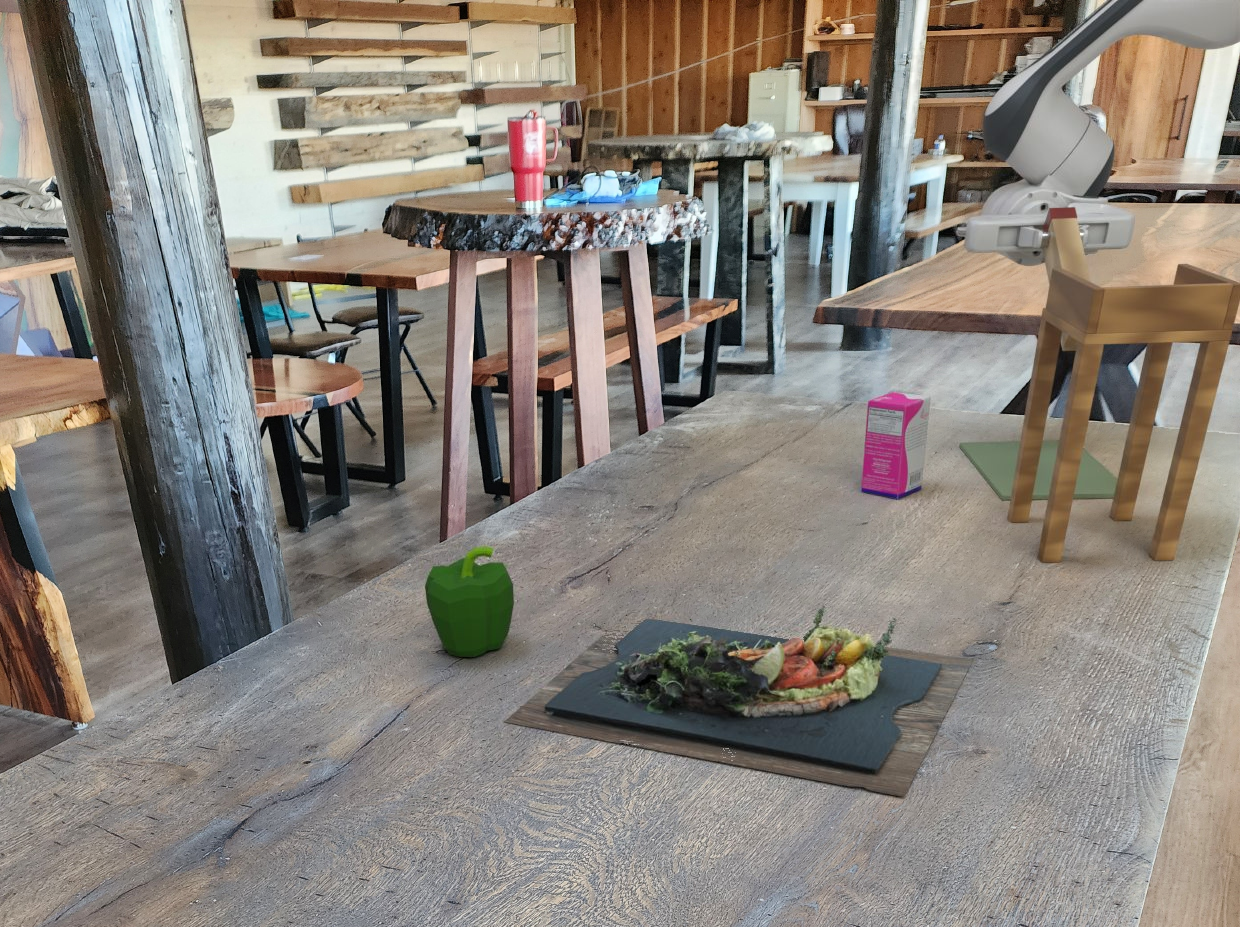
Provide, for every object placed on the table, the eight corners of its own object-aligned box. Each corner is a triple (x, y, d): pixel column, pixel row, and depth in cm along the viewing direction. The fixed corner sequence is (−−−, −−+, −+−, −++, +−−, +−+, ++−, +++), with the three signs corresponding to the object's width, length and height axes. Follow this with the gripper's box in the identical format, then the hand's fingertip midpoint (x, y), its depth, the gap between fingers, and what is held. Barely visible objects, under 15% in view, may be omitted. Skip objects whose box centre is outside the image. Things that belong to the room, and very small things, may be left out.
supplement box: (883, 481, 156) (893, 390, 150) (922, 489, 152) (934, 395, 146) (858, 491, 153) (867, 398, 146) (897, 499, 149) (908, 404, 143)
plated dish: (974, 656, 109) (986, 580, 105) (910, 804, 88) (921, 717, 84) (627, 613, 122) (624, 544, 118) (501, 733, 102) (493, 654, 97)
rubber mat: (1073, 443, 168) (1074, 439, 167) (1133, 497, 146) (1134, 492, 146) (959, 446, 169) (959, 442, 169) (1001, 500, 148) (1002, 495, 147)
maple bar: (1064, 237, 147) (1075, 206, 143) (1088, 350, 139) (1100, 320, 135) (1039, 238, 147) (1049, 207, 144) (1061, 351, 139) (1072, 321, 135)
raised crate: (1126, 515, 141) (1184, 261, 126) (1173, 560, 128) (1244, 283, 112) (1007, 517, 142) (1049, 266, 127) (1041, 562, 129) (1094, 288, 113)
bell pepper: (415, 659, 113) (403, 558, 108) (453, 628, 120) (444, 530, 114) (494, 670, 111) (486, 566, 105) (529, 637, 117) (523, 537, 111)
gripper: (956, 201, 154) (979, 212, 142) (1117, 196, 152) (1154, 206, 141) (949, 256, 157) (971, 270, 146) (1106, 251, 156) (1141, 265, 144)
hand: (1062, 238), depth 143 cm, fingers closed on maple bar, 3 cm apart
